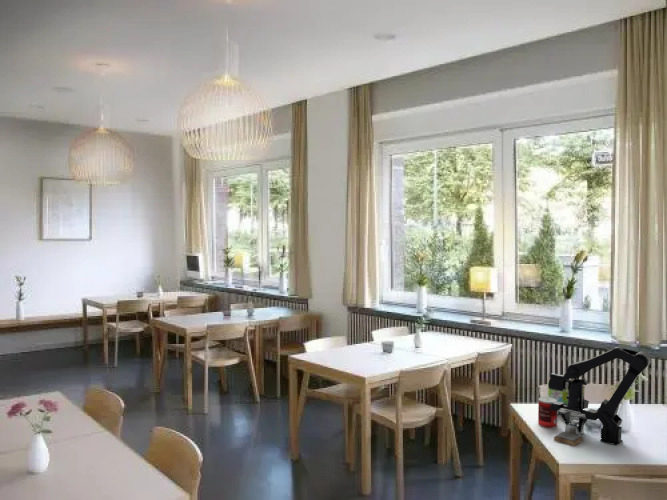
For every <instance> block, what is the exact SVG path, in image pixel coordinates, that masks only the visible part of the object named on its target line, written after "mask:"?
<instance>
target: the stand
mask: <svg viewBox="0 0 667 500" xmlns="http://www.w3.org/2000/svg"><path fill="white" fill-rule="evenodd" d="M583 439H584V436H582V435H576V434H572V433H568V432H565V431H561V432H559V433H558V434H556V435H555V436H553V440H554V442H557V443H562V444H565V445H569V446H572V447H575V446H577V445H578V444H580V443H582V442H583V441H584V440H583Z"/></svg>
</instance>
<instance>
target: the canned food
mask: <svg viewBox="0 0 667 500" xmlns="http://www.w3.org/2000/svg"><path fill="white" fill-rule="evenodd" d="M556 401H557V400H556V399H554V398H551V397H547V396H541V397H539V398H538V408H537V409H538V413H537V414H538V419H537V423H538V425H539V426H541V427H544V428H551V429H552V428H556V427H557V425H558V414H557V411H553V410H550V406H551V404H552V403H554V402H556Z"/></svg>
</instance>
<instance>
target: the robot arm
mask: <svg viewBox="0 0 667 500" xmlns="http://www.w3.org/2000/svg"><path fill="white" fill-rule="evenodd" d="M651 357H652V356H651V355H650V354H649V353H648V352H646V351H636V350H632V349H628V348H624V347H622V346H616V347H614V348H613V349H610V350H608V351H606V352H603V353H601V354H599V355H597V356H594V357H591V358H589V359H585V360H580V361H576V362H573V363H571V364H570V365H568V366H567V369H566V373H564V374H558V373H553V372H552V373H550V375H549V378H550V379H549V382H548V381H547V388H548V387H549V389H551V390H557V391H563V392H564V391H565V390H567V388H568V396H567V398H566V399H568V405H567V406H565V403H563V402H559V401H556V402H554V403H552V404H551V406H550V410H553V411H558V410H559V412H558V414H557V415H560V416H561V419H562V421H563V422H564V425H565V424H567V423H569V422H570V421H571V416H570V413H571V412H574V413H578V414H581V415H582V416H581V417H578V421H579V433H581V432H582V430H583V427H584V428H585V424H586V423H587V421H588V420H591V421H597V420H599V422H600V423H601V426H602V427H601V428H600V440H599V441H600V442H603V443H605V444H606V443H607V444H610V445H614V446H618V445H620V444H622V443H623V439H622V430H623V429H622V426H621V424H622V422H623V419H622V417H620V415H618V412H619V409H620V405H621V403H622V401H623V400H624V398H625V397H626V396H627V393H628V392H629V390H630V389H631V387H632V386H633V384H634V383H635V381H636V380H637V378H638V376H639V375H641V374H642V373H643V371H644V370H645V369H646V368H647V367H649V365H650V364H651V362H652V358H651ZM617 359H620V360H621V361H623V362H625V363H626V364H629V365H628V370H627V372H626V373H625V375H624V377H623V378H622V380H621V382H620V383H619V385H618V386H617V387H616V389H615V391H614V392H613V394H612V396H611V397H610V398H609V400H608V399H606V398H605V399H604V400H603V401H601V404H600V406H599V407H598V408H597V409H594V408H590V409H588V407H589V402H590V401H589V400H587V399H585V395H584V396H583V385H584V386H587V385H588V384H589V381H588V380H587V379H586V378H585V377H582V376H583V375H585V374H587V373H588V372H589V371H590V370H591V371H592V370H593V369H594V368H597V367H600V366H602V365H604V364H607V363H609V362H612V361H613V360H614V361H615V360H617ZM581 377H582V378H581ZM570 379H571V380H570ZM583 409H584V410H583ZM586 409H588V410H586Z"/></svg>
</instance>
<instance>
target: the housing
mask: <svg viewBox="0 0 667 500" xmlns="http://www.w3.org/2000/svg"><path fill="white" fill-rule="evenodd" d="M564 425H565V429H564V430H565V431H564V432H568V433H572V434H576V435H579V436H582V434H584V433H585V432H584V431H585V426H584V427H583V430H582V432H581V433H579V420H577V419H574V420H570V422H569V423H567V424H565V423H564Z"/></svg>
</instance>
